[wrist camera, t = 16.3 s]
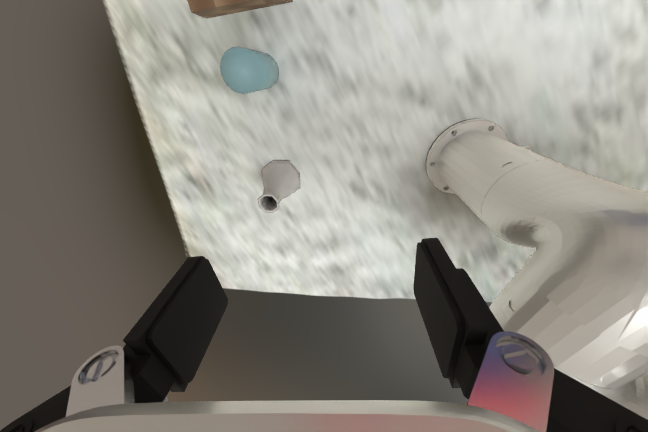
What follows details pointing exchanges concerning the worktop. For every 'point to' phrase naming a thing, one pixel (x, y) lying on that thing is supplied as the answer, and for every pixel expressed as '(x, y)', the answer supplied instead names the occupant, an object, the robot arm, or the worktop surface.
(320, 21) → the worktop surface
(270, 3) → the walnut pocket block
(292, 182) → the flask
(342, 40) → the worktop surface
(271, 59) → the teal peg
